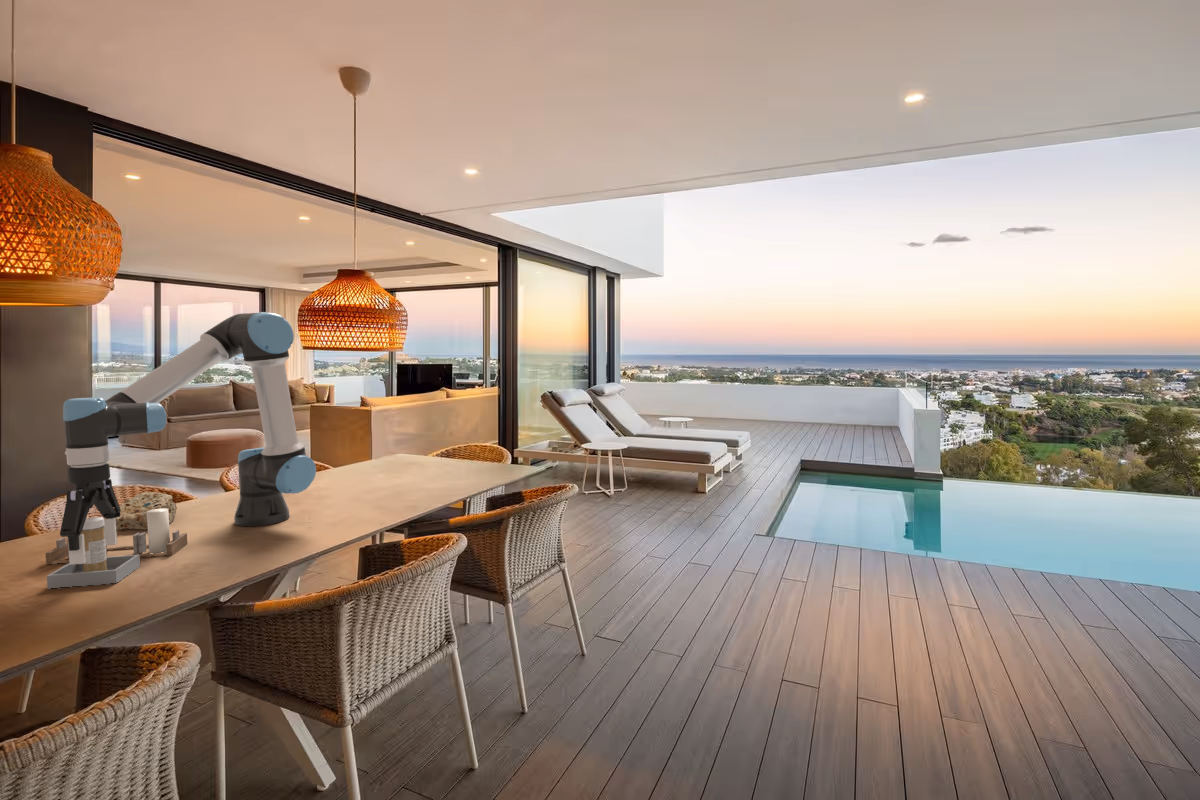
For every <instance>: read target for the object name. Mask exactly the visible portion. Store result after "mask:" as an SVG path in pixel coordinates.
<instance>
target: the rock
mask: <svg viewBox="0 0 1200 800" xmlns="http://www.w3.org/2000/svg"><path fill="white" fill-rule="evenodd" d="M173 499H174V498H173V496H172V494H167V493H161V492H155V491H147V492H141V493H138V494H136V495H134V496H133V497H131V498H126V499H125V500H124V501H123V502H122V503H121V504H120V505H119V507H120V510H121V511H120V513H121V515H120V517H115V518H116V530H118V531H121V530H123V529H129V530H137V531H138V530H145V529H148V524H147V511H149V510H153V509H161V508H166V509H168V514H169V524H171V522H173V520H175V518H176V514H177V509H178V508H177V504H176V503H175V502H174V501H173Z"/></svg>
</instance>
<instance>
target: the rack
mask: <svg viewBox="0 0 1200 800" xmlns="http://www.w3.org/2000/svg"><path fill="white" fill-rule="evenodd" d="M171 537H172V540H170V542H169V543H168V544H166V548H167V552H164V553H153V554H150V553H146V552H147V551H148V550H147V549H148V548H147V547H149V544H147V533H146V531H145V532H136V533H135V534H133V535H132V542H133V543H132V544H133V545H123V546H108V545H106V553H107V554H108V551H107V550H109V551H114V550H113V549H123V550H127V549H126V548H134V549H133V555H138V554H139V553H143V552H144V553H143V554H139V555H140V557H145V558H152V557H151V556H158V557H164V556H163V555H172V556H174V555H175V554H176V553H178V552H179V551H180V550H181V549H183V548H184V547H186V546H187V545H188V533H187V532H183V533H181V534H180V530H178V529H176V530H174V531H173V532H172V536H171ZM55 545H56V547H55V548H53V549H50V550H49V551H47V552H45V563H46V564H52V565H58V564H57V563H65V564H68V563H69V559H65V558H67V557H68V551H67V541H66V537H61V538H59V539H57V540H56V541H55ZM146 550H147V551H146ZM137 553H138V554H137ZM173 554H174V555H173ZM66 556H67V557H66ZM125 556H127V555H126V554H125ZM64 557H65V558H64ZM62 558H63V559H62ZM60 559H61V560H60Z"/></svg>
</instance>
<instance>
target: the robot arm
mask: <svg viewBox="0 0 1200 800" xmlns="http://www.w3.org/2000/svg"><path fill="white" fill-rule="evenodd" d="M294 335H295V334H294V331H293V327H292V326H291V324H290V322H289V321H288V320H287V319H286V318H284V317H283V316H282V315H281V314H277V313H274V312H267V311H260V312H250V313H244V312H243V313H238V314H237V313H236V314H234V315H232V316H229V317H228V318H227V317H226V318H225V319H224V320H222V321H221V322H219V323H218V324H216V325H214V326H213V327H212V328H210V329H208V330H207V331H205V332H204V333H202V334H201V335H200V337H199V340H198V341H197V342H195V343H193V344H192V345H190V346H189V347H187V348H186V349H184V350H183V351H181V352H180V353H178V354H175V356H174V357H172V358H170V359H168V360H167V361H165V362H163V364H161V365H159V366H158V367H156V368H155V369H153V370H152V371H150V372H148V373H147V374H145V375H144V376H142V377H140V378H139V379H138V380H136V381H134V382H133V383H131V384H129V385H128V386H127V387H125V388H124V389H122V390H121V391H119V392H117V393H115V394H113V395H112V396H110V397H109V398H108V399H104V398H103V397H78V398H77V397H76V398H69V399H66V400H65V401H64V403H63V405H62V406H63V408H62V421H63V428H64V439H65V440H64V441H65V451H64V455H66V464H67V465H68V467H67V468H66V472H67V482H68V483H69V484H71V485H72V484H73V485H75V490H68V491H67V492H66V498H65V499H66V501H65V502H66V503H65V508H64V511H63V517H62V521H61V527H60V531H59V536H61V538H66V537H68V549H69V559H68V560H69V563H70V565H71V564H84V563H86V557H85V543H84V534H81V532H82V529H83V526H84V523H85V521H86V518H87V515H88V516H89V511H90V509H92V508H93V507H94V506H95V507H96V509H97V510H98V512H99V513H100V515H101V517H103V518H104V524H105V525H104V536H105V544H106V545H107V546H115V545H117V544H118V535H117V528H116V518H115V517H120V515H121V513H120V511H121V510H120V504H119V502H118V499H117V496H116V493H115V491H114V488H113V483H112V479H111V467H110V464H109V463H108V462H109V461H110V451H109V450H110V449H109V437H111V438H112V437H116V436H128V435H141V434H147V435H148V434H151V433H156V432H161V431H163V430H164V429H165V427H166V425H167V419H168V418H167V412H166V409H165V407H164V406H163V404H161V403H160V402H162V401H163V400H165V399H167V398H168V397H170V396H171V395H173V394H174V393H175V392H177V391H178V390H180V389H181V388H182V387H184V386H185V385H187V384H188V383H190V382H192V381H193V380H194V379H196V378H197V377H199V376H200V375H202V374H203V373H205V372H206V371H207V370H209V369H210V368H212V367H214V366H215V365H216V364H218V363H220V362H223V363H225V362H227V361H229V360H231V359H232V358H234V357H236V356H238V355H242V357H243V361H244V363H246V364H247V365H249V366H250V367H251V370H252V377H253V381H254V388H255V394H256V399H257V403H258V410H259V415H260V421H261V425H262V426H261V427H262V432H263V437H264V442H265V447H264V446H263V447H257V448H256V447H255V448H250V449H244V450H241V451H239V453H238V455H237V457H238V458H237V465H238V466H237V467H238V469H237V470H238V485H239V499H238V504H237V507H236V510H235V513H234V516H233V517H234V520H233V521H234V524H235V525H236V526H239V527H257V526H258V527H259V526H268V525H274V524H278V523H280V522H283V521H285V520H288V519H289V518H290V510H289V507H288V504H287V502H286V499H285V496H284V494H287V495H288V494H293V495H294V494H299V493H301V492H303V491H304V492H305V490H307V489H308V488H309V487H310V486H311V484H312V483H313V481H315V477H316V474H317V466H316V463H315V461H314V460H313V459H312V458H311V457H309V456H308V455H307V454H306V448H305V445H304V443H302V442H300V441H299V440H298V439H299V438H298V434H297V429H296V427H297V426H296V423H295V417H294V411H293V405H292V398H291V394H290V388H289V381H288V376H287V375H288V374H287V369H286V364H285V363H286V362H287V360H288V359H289V358H290V354H289V349H290V348H291V347H292V344H293V343H294V339H295V338H294V337H295V336H294Z"/></svg>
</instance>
